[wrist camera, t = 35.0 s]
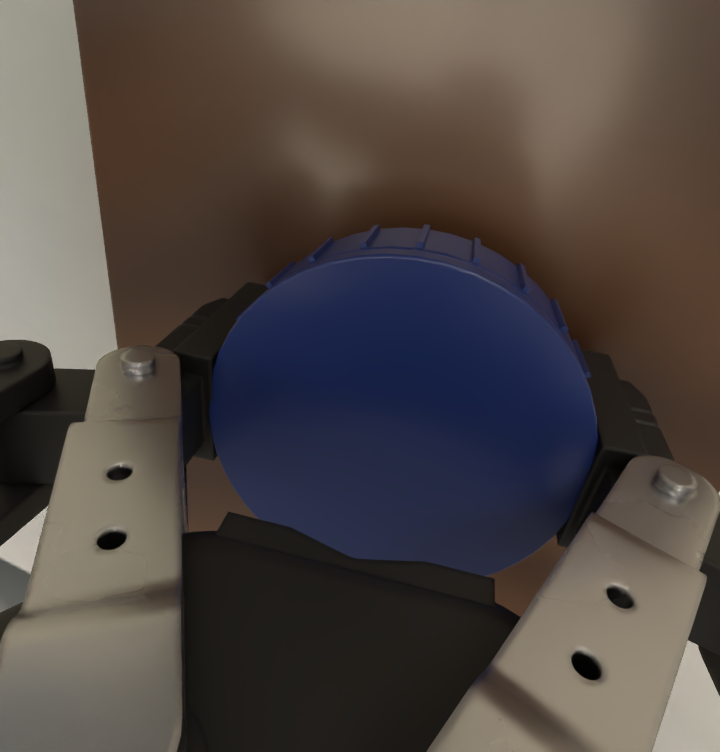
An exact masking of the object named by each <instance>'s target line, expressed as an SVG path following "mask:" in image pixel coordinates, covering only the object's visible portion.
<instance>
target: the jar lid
mask: <svg viewBox="0 0 720 752" xmlns="http://www.w3.org/2000/svg"><path fill="white" fill-rule="evenodd" d="M430 226H431V225H426V224H424V226H423V229H418V228H403V227H401V228H387V229H380V225H373V227H372V228H371V229H370V230H369V231H366V232H361V233H357V234H353V235H350V236H347V237H344V238H341V239H339V240H336V241H334V240H333V238H332V237H331V238H329V239H327V240H326V241H325V242H324V243H323V244H322V245H320V246H319V247H318V248H317V249H316V250H315V251H314V252H312V253H310V254H309V255H308V256H306V257H305V258H304V259H302V260H301V261H299V262H298V263H297V264H296V263H295V262H294V261H292V262H291V263H289V264H288V265H287V266H286V267H285V268H284V269H283V270H281V271H280V272H279V273H278V274H277V275H276V276H275V277H273V278H272V279H271V280H270V281H269V282H268V283H267V284H265V285H266V287H267V288H268V290H266V291H265V292H264V293H263V294H262V295H261V296H259V297H258V298H257V299H256V300H255V301H254V302H253V303H252V304H251V305H250V306H248V307H247V308H246V309H245V310H244V311H243V312H242V313H241V314H240V315H239V316H238V317H237V319H236V321H237V322H236V323H235V325H234V326H233V327H232V329H231V330H230V331H229V333H228V335H227V337H226V339H225V341H224V343H223V345H222V347H221V349H220V351H219V354H218V357H217V360H216V363H215V366H214V369H213V373H212V400H211V401H210V408H209V418H210V426H211V434H212V437H213V441H214V445H215V449H216V452H217V455H218V457H219V460H220V462H221V465H222V467H223V470H224V472H225V474H226V475H227V477H228V479H229V481H230V483H231V484H232V486H233V488H234V490H235V491H236V492H237V494H238V495H239V497H240V498H241V499H242V501H243V502H244V503H245V505H246V506H247V507H248V508H249V509H250V511H251V512H252V513H253V514H254V515H255V516H256V517H257V518H258V519H260V520H264V521H268V522H272V523H276V524H280V525H284V526H288V527H291V528H293V529H295V530H297V531H299V532H301V533H303V534H305V535H307V536H309V537H311V538H313V539H315V540H317V541H319V542H321V543H323V544H325V545H327V546H329V547H331V548H333V549H335V550H337V551H339V552H341V553H343V554H345V555H347V556H350V557H352V558H356V559H373V560H399V561H425V562H430V563H434V564H438V565H442V566H446V567H450V568H454V569H458V570H462V571H466V572H470V573H474V574H478V575H482V576H488V575H491V574H494V573H497V572H500V571H502V570H504V569H506V568H508V567H510V566H512V565H515V564H517V563H519V562H520V561H522V560H524V559H525V558H527V557H528V556H530V555H531V554H533V553H535V552H536V551H538V550H539V549H540V548H541V547H542V546H544V545H545V544H546V543H547V542H548V541H549V540H551V539H552V538H553V537H554V536H555V535H556V534H557V533H558V532H559V530H560V529H561V528H562V527H563V526H564V525H565V524H566V523H567V522H568V519H569V517H570V515H571V513H572V511H573V508H574V506H575V504H576V501H577V499H578V497H579V494H580V492H581V490H582V487H583V485H584V482H585V480H586V478H587V475H588V473H589V471H590V468H591V466H592V464H593V461H594V458H595V456H596V450H597V441H598V433H597V416H596V411H595V406H594V402H593V398H592V394H591V390H590V387H589V384H588V382H587V379H586V378H589V377H591V374H590V371H589V369H588V366H587V364H586V361H585V359H584V356H583V354H582V351H581V349H580V347H579V344H578V342H577V339H575V340H571V338H570V335H569V333H568V331H569V329H568V327H567V324H566V322H565V319H564V317H563V314H562V311H561V309H560V306H559V304H558V302H557V300H556V299H555V298H554V299H552V300H550V299H549V298H548V297H547V295H546V294H545V293H544V292H543V291H542V289H541V288H540V287H539V286H538V285H537V283H535V282H534V281H533V280H532V279H531V278H530V277H529V276H528V275H527V273H526V269H525V266H524V265H523V264H521V263H519V264H518V265H517V266H516V265H515V264H513V263H512V262H510V261H509V260H507V259H506V258H504V257H503V256H501V255H500V254H498V253H497V252H495V251H493V250H491V249H488V248H486V247H484V246H482V245H481V239H479V238H476V237H475V238H474V240H473V241H471V240H468V239H465V238H462V237H459V236H456V235H453V234H449V233H444V232H439V231H434V230H430Z"/></svg>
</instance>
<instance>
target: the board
mask: <svg viewBox="0 0 720 752" xmlns="http://www.w3.org/2000/svg"><path fill="white" fill-rule="evenodd" d="M73 4H74V12H75V20H76V28H77V35H78V43H79V51H80V59H81V66H82V74H83V82H84V90H85V97H86V105H87V113H88V121H89V128H90V136H91V144H92V152H93V160H94V167H95V175H96V183H97V191H98V198H99V206H100V214H101V222H102V229H103V237H104V245H105V253H106V260H107V268H108V276H109V284H110V291H111V299H112V307H113V315H114V322H115V330H116V338H117V346H118V349H120V348H125V347H130V346H140V345H147V346H156V345H157V344H158V343H159V342H160V341H162V340H163V339H164V338H165V337H166V336H167V335H169V334H170V333H171V332H172V331H173V330H174V329H176V328H177V327H178V326H179V325H182V323H183V322H184V321H185V320H186V319H187V318H189V317H192V314H193V313H194V312H196V311H197V310H198V309H199V308H200V307H201V306H203V305H204V304H207V303H209V302H212V301H215V300H217V299H220V298H227V299H229V298H231V297H232V296H233V295H234V294H235V293H236V292H237V291H238V290H239V289H240V288H242V287H243V286H244V285H245V284H246V283H247V282H253V283H258V284H263V285H265V284H267V283H268V282H269V281H270V280H271V279H272V278H273V277H275V276H276V275H277V274H278V273H279V272H280V271H281V270H283V269H284V268H285V267H286V266H287V265H288V264H289V263H291V262H292V261H294V262H295V263H296V264H297V263H298V262H299V261H301V260H302V259H304V258H305V257H306V256H308V255H309V254H310V253H312V252H314V251H315V250H316V249H317V248H318V247H319V246H320V245H322V244H323V243H324V242H325V241H326V240H327V239H329V238H331V237H332V238H333V240H334V241H336V240H339V239H341V238H344V237H347V236H350V235H353V234H357V233H361V232H366V231H369V230H370V229H371V228H372V227H373V225H380V229H387V228H401V227H403V228H418V229H423V226H424V224H426V225H431V226H430V230H434V231H439V232H444V233H449V234H453V235H456V236H459V237H462V238H465V239H468V240H471V241H473V240H474V238H475V237H476V238H479V239H481V245H482V246H484V247H486V248H488V249H491V250H493V251H495V252H497V253H498V254H500V255H501V256H503V257H504V258H506V259H507V260H509V261H510V262H512V263H513V264H515V265H516V266H517V265H518V264H519V263H521V264H523V265H524V266H525V269H526V273H527V275H528V276H529V277H530V278H531V279H532V280H533V281H534V282H535V283H537V285H538V286H539V287H540V288H541V289H542V291H543V292H544V293H545V294H546V295H547V297H548V298H549V299H550V300H552V299H554V298H555V299H556V300H557V302H558V304H559V306H560V309H561V311H562V314H563V317H564V319H565V322H566V324H567V327H568V329H569V331H568V333H569V335H570V338H571V340H575V339H577V342H578V344H579V347H580V349H584V350H589V351H594V352H599V353H604V354H608V355H609V356H610V358H611V360H612V363H613V365H614V368H615V370H616V373H617V375H618V378H619V380H624V381H629V382H630V383H632V384H633V385H634V386H635V387H636V388H637V389H638V390H639V391H640V392H641V393H642V394H643V395H644V396H645V397H646V398H647V401H648V403H649V405H650V407H651V409H652V412H653V413H652V415H654V416H655V418H656V420H657V422H658V428H660V429H661V431H662V433H663V436H664V438H665V440H666V442H667V444H668V447H669V449H670V451H671V453H672V455H673V457H674V460H675V461H676V462H678V463H681V464H683V465H685V466H687V467H689V468H691V469H692V470H694V471H696V472H697V473H699V474H700V475H701V476H703V477H704V478H705V479H706V480H707V481H709V482H710V483H711V485H712V486H713V487H714V488H715V489H716V491H717V492H718V493H719V491H720V0H73ZM187 486H188V521H189V532H196V531H217V530H218V528H219V527H220V525H221V523H222V522H223V520H224V518H225V516H226V515H227V513H228V512H232V513H236V514H240V515H244V516H248V517H252V518H256V519H258V518H257V517H256V516H255V515H254V514H253V513H252V512H251V511H250V509H249V508H248V507H247V506H246V505H245V503H244V502H243V501H242V499H241V498H240V497H239V495H238V494H237V492H236V491H235V490H234V488H233V486H232V484H231V483H230V481H229V479H228V477H227V475H226V474H225V472H224V470H223V467H222V465H221V462H220V460H219V457H218V456H217V457H216V459H215V460H214V461H211V460H207V459H203V458H198V457H194V456H193V457H192V459H191V460H190V461H189V463H188V464H187ZM566 549H567V548H566V547H562V546H558V544H557V537H556V535H555V536H554V537H553V538H552V539H551V540H549V541H548V542H547V543H546V544H545V545H544V546H542V547H541V548H540V549H539V550H538V551H536V552H535V553H533V554H531V555H530V556H528V557H527V558H525V559H524V560H522V561H520V562H519V563H517V564H515V565H512V566H510V567H508V568H506V569H504V570H502V571H500V572H497V573H494V574H491V575H488V576H486V577H490V578H494V579H495V602H496V603H498V604H500V605H502V606H504V607H505V608H507V609H509V610H510V611H512V612H514V613H515V614H517V615H518V616H520V617H522V615H523V614H524V612H525V611H526V609H527V608H528V606H529V605H530V603H531V602H532V600H533V599H534V597H535V596H536V594H537V593H538V591H539V590H540V588H541V587H542V585H543V584H544V582H545V581H546V579H547V578H548V576H549V575H550V573H551V572H552V570H553V569H554V567H555V566H556V564H557V563H558V561H559V560H560V558H561V557H562V555H563V554H564V552H565V551H566Z"/></svg>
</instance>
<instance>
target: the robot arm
mask: <svg viewBox="0 0 720 752" xmlns="http://www.w3.org/2000/svg"><path fill="white" fill-rule="evenodd" d="M266 290H268V288H267V287H266V285H263V284H258V283H253V282H247V283H246V284H245V285H244V286H243V287H242V288H240V289H239V290H238V291H237V292H236V293H235V294H234V295H233V296H232V297H231V298H229V299H227V298H220V299H217V300H215V301H212V302H209V303H207V304H204V305H203V306H201V307H200V308H199V309H198V310H197V311H196V312H194V313H193V314H192V317H189V318H187V319H186V320H185V321H184V322H183V323H182V325H179V326H178V327H177V328H176V329H174V330H173V331H172V332H171V333H170V334H169V335H167V336H166V337H165V338H164V339H163V340H162V341H160V342H159V343H158V344H157V345H156V346H147V345H140V346H130V347H125V348H120V349H117V350H114V351H112V352H110V353H108V354H106V355H105V356H103V357H102V358H101V359H100V360H99V361H98V363H97V365H96V369H95V370H86V369H54V367H53V362H52V358H51V353H50V351H49V349H48V348H47V347H46V346H44V345H42V344H40V343H37V342H33V341H27V340H5V341H0V546H1V545H2V544H4V543H5V542H6V541H7V540H8V539H9V538H11V537H12V536H13V535H14V534H15V533H16V532H18V531H19V530H20V529H21V528H22V527H23V526H25V525H26V524H27V523H28V522H29V521H30V520H32V519H33V518H34V517H35V516H36V515H37V514H39V513H40V512H41V511H42V510H43V509H44V508H46V507H47V506H48V509H47V513H46V517H45V521H44V525H43V528H42V532H41V536H40V540H39V544H38V548H37V552H36V556H35V560H34V564H33V567H32V571H31V575H30V580H29V583H28V587H27V591H26V595H25V599H24V602H22V603H20V604H17V605H15V606H13V607H11V608H9V609H7V610H5V611H3V612H1V613H0V752H652V750H653V747H654V744H655V740H656V737H657V734H658V731H659V728H660V725H661V722H662V719H663V716H664V712H665V709H666V706H667V703H668V700H669V697H670V694H671V691H672V688H673V684H674V681H675V678H676V675H677V672H678V669H679V666H680V663H681V660H682V656H683V653H684V650H685V647H686V644H687V641H688V640H689V641H691V642H693V643H695V644H697V645H698V646H699V651H700V653H701V656H702V658H703V660H704V663H705V665H706V667H707V669H708V671H709V674H710V676H711V678H712V680H713V683H714V685H715V687H716V689H717V691H718V694H719V696H720V496H719V494H718V492H717V491H716V489H715V488H714V487H713V486H712V485H711V483H710V482H709V481H707V480H706V479H705V478H704V477H703V476H701V475H700V474H699V473H697V472H696V471H694V470H692V469H691V468H689V467H687V466H685V465H683V464H681V463H678V462H676V461H675V460H674V457H673V455H672V453H671V451H670V449H669V447H668V444H667V442H666V440H665V438H664V436H663V433H662V431H661V429H660V428H658V422H657V420H656V418H655V416H654V415H652V413H653V412H652V409H651V407H650V405H649V403H648V401H647V398H646V397H645V396H644V395H643V394H642V393H641V392H640V391H639V390H638V389H637V388H636V387H635V386H634V385H633V384H632V383H630V382H629V381H624V380H619V378H618V375H617V373H616V370H615V368H614V365H613V363H612V360H611V358H610V356H609V355H608V354H604V353H599V352H594V351H589V350H584V349H581V351H582V354H583V356H584V359H585V361H586V364H587V366H588V369H589V371H590V374H591V377H589V378H586V379H587V382H588V384H589V387H590V390H591V394H592V398H593V402H594V406H595V411H596V416H597V433H598V441H597V450H596V456H595V458H594V461H593V464H592V466H591V468H590V471H589V473H588V475H587V478H586V480H585V482H584V485H583V487H582V490H581V492H580V494H579V497H578V499H577V501H576V504H575V506H574V508H573V511H572V513H571V515H570V517H569V519H568V522H567V523H566V524H565V525H564V526H563V527H562V528H561V529H560V530H559V532H558V533H557V534H556V537H557V544H558V546H562V547H566V548H567V549H566V551H565V552H564V554H563V555H562V557H561V558H560V560H559V561H558V563H557V564H556V566H555V567H554V569H553V570H552V572H551V573H550V575H549V576H548V578H547V579H546V581H545V582H544V584H543V585H542V587H541V588H540V590H539V591H538V593H537V594H536V596H535V597H534V599H533V600H532V602H531V603H530V605H529V606H528V608H527V609H526V611H525V612H524V614H523V615H522V617H520V616H518V615H517V614H515V613H514V612H512V611H510V610H509V609H507V608H505V607H504V606H502V605H500V604H498V603H496V602H495V579H494V578H490V577H486V576H482V575H478V574H474V573H470V572H466V571H462V570H458V569H454V568H450V567H446V566H442V565H438V564H434V563H430V562H425V561H399V560H373V559H356V558H352V557H350V556H347V555H345V554H343V553H341V552H339V551H337V550H335V549H333V548H331V547H329V546H327V545H325V544H323V543H321V542H319V541H317V540H315V539H313V538H311V537H309V536H307V535H305V534H303V533H301V532H299V531H297V530H295V529H293V528H291V527H288V526H284V525H280V524H276V523H272V522H268V521H264V520H260V519H256V518H252V517H248V516H244V515H240V514H236V513H232V512H228V513H227V515H226V516H225V518H224V520H223V522H222V523H221V525H220V527H219V528H218V530H217V531H196V532H189V521H188V486H187V464H188V463H189V461H190V460H191V459H192V457H193V456H194V457H198V458H203V459H207V460H211V461H214V460H215V459H216V457H217V456H218V455H217V452H216V449H215V445H214V441H213V437H212V434H211V426H210V418H209V408H210V401H211V400H212V373H213V369H214V366H215V363H216V360H217V357H218V354H219V351H220V349H221V347H222V345H223V343H224V341H225V339H226V337H227V335H228V333H229V331H230V330H231V329H232V327H233V326H234V325H235V323H236V322H237V321H236V319H237V317H238V316H239V315H240V314H241V313H242V312H243V311H244V310H245V309H246V308H247V307H248V306H250V305H251V304H252V303H253V302H254V301H255V300H256V299H257V298H258V297H259V296H261V295H262V294H263V293H264V292H265V291H266Z"/></svg>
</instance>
